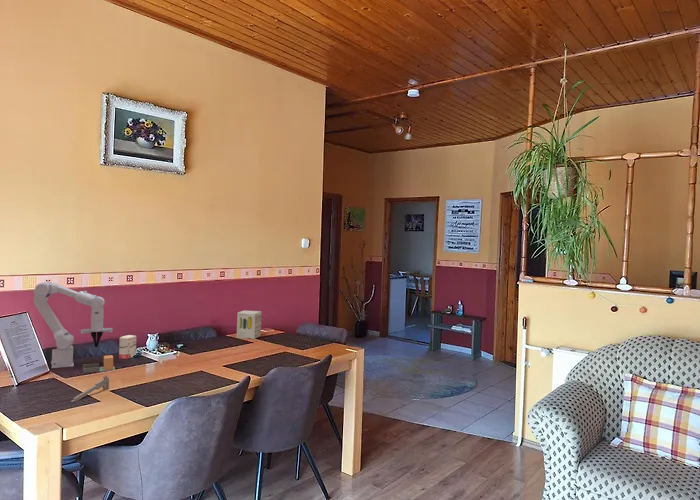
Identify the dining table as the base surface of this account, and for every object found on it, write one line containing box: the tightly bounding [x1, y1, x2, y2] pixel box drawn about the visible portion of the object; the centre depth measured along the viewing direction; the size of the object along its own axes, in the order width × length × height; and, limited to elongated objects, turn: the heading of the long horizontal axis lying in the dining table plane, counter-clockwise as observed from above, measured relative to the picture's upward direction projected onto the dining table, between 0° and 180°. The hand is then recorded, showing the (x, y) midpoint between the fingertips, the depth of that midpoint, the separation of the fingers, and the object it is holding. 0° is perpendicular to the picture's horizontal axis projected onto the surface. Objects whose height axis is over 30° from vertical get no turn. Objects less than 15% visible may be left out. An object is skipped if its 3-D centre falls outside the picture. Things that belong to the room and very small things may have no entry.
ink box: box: [118, 334, 137, 360], centre depth 270 cm, size 9×5×12 cm, turn 168°
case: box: [82, 362, 101, 374], centre depth 244 cm, size 7×15×2 cm, turn 30°
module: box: [102, 354, 114, 372], centre depth 245 cm, size 4×6×6 cm, turn 29°
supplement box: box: [236, 310, 262, 340], centre depth 342 cm, size 13×13×18 cm
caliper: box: [70, 374, 110, 403], centre depth 205 cm, size 20×1×6 cm, turn 167°
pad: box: [99, 365, 116, 372], centre depth 245 cm, size 7×9×1 cm
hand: (96, 346), depth 253 cm, fingers closed
